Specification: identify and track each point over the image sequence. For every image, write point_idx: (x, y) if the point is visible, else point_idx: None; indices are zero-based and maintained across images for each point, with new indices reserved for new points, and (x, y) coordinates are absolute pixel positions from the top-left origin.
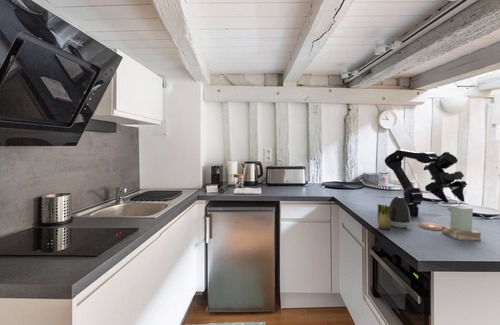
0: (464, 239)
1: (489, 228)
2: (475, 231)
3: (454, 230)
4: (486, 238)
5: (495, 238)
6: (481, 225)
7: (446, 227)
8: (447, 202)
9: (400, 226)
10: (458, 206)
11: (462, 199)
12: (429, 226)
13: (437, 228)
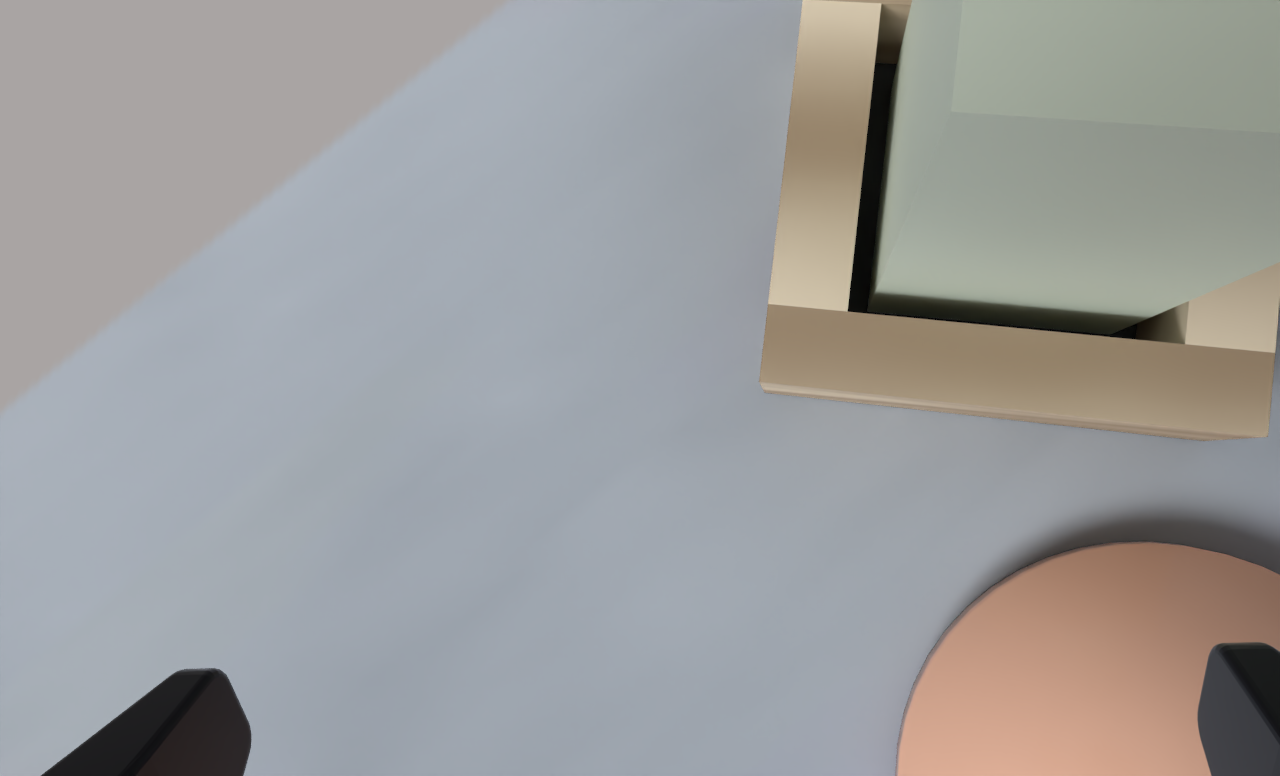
0: None
1: (43, 476)
2: (841, 4)
3: None
4: (635, 38)
5: (481, 23)
6: (3, 651)
7: (1264, 320)
8: (1237, 657)
9: None
10: (1260, 16)
11: (185, 752)
12: None
13: (1201, 581)
